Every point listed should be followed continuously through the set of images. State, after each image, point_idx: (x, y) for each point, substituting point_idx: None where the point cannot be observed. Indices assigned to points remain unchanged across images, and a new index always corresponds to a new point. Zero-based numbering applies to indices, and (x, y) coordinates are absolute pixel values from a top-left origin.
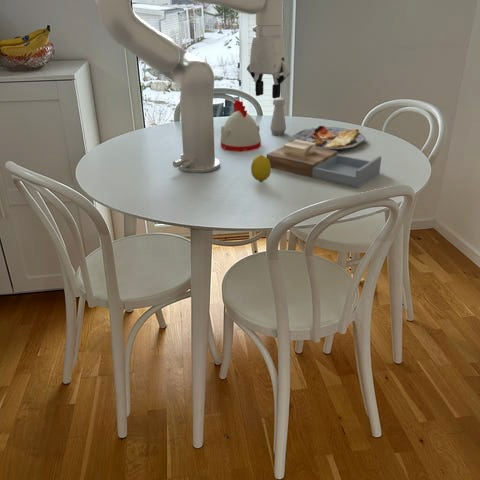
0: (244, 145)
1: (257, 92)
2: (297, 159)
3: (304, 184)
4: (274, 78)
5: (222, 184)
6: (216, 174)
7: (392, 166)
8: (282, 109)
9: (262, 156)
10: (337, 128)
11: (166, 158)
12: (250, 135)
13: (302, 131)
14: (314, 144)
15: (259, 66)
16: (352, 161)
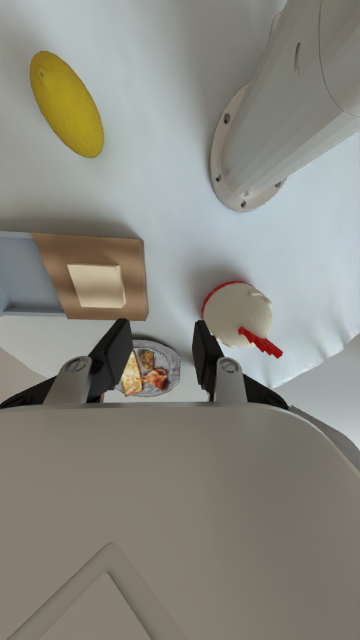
0: (215, 293)
1: (198, 326)
2: (74, 244)
3: (31, 191)
4: (72, 388)
5: (144, 47)
6: (195, 126)
7: (29, 336)
8: (207, 392)
9: (38, 75)
10: (152, 394)
11: (335, 164)
12: (213, 308)
13: (179, 374)
14: (80, 302)
15: (195, 527)
16: (45, 310)
